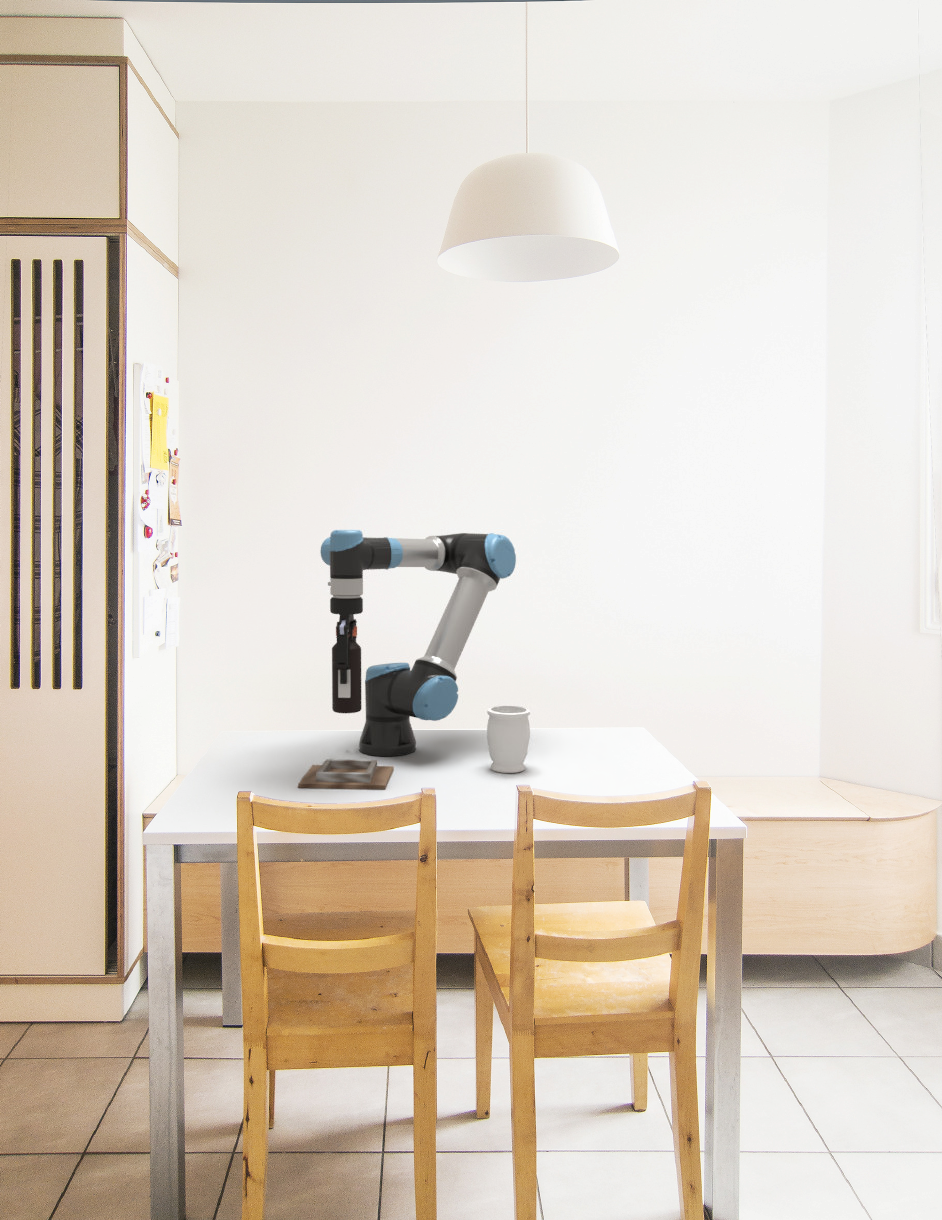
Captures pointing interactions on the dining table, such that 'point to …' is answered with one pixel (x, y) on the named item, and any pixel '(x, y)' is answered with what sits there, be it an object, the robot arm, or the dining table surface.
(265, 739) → the dining table surface
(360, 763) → the tray
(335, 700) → the vinegar
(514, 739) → the jar
